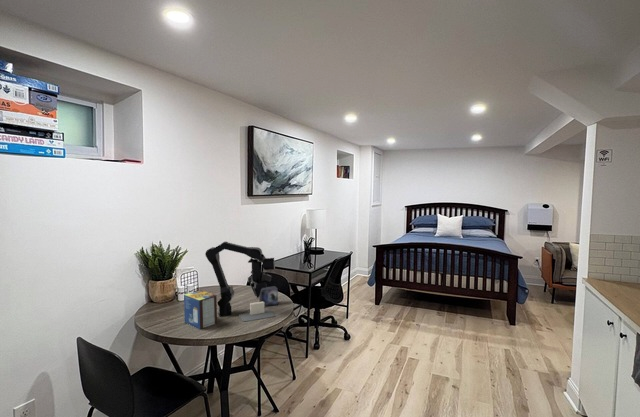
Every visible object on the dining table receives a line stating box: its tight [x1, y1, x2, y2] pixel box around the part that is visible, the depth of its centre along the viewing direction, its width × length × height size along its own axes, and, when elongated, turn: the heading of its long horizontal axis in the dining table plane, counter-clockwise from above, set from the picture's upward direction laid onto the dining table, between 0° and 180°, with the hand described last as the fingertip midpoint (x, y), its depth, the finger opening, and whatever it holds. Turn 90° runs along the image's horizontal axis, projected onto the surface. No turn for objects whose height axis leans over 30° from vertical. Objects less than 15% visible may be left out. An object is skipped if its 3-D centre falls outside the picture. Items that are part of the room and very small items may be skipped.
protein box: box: [183, 290, 218, 330], centre depth 181 cm, size 10×15×16 cm
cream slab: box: [249, 301, 265, 315], centre depth 195 cm, size 8×2×6 cm, turn 116°
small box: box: [258, 285, 279, 307], centre depth 211 cm, size 11×6×10 cm, turn 112°
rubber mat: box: [238, 309, 276, 323], centre depth 192 cm, size 18×12×1 cm, turn 116°
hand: (257, 296), depth 195 cm, fingers open, 3 cm apart
